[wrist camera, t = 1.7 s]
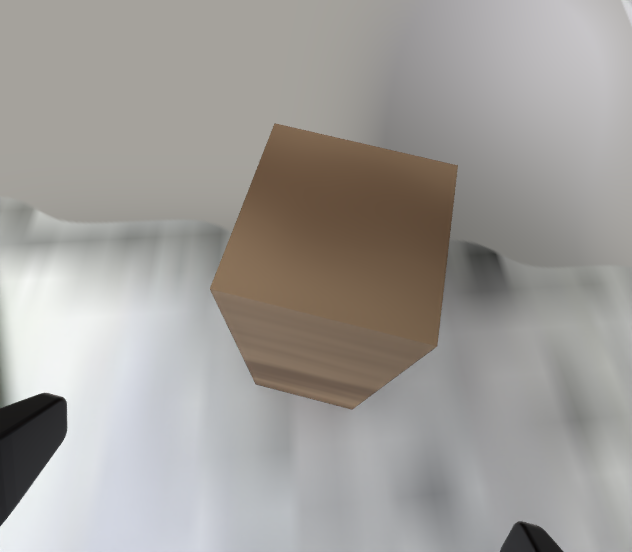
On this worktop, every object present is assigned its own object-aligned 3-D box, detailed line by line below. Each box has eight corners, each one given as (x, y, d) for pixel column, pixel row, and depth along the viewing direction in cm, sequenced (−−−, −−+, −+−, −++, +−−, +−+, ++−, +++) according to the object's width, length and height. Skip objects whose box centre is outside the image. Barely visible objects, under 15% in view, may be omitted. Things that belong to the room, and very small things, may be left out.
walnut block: (352, 409, 20) (437, 346, 8) (255, 384, 20) (209, 288, 9) (370, 317, 22) (457, 165, 10) (282, 295, 22) (274, 123, 11)
